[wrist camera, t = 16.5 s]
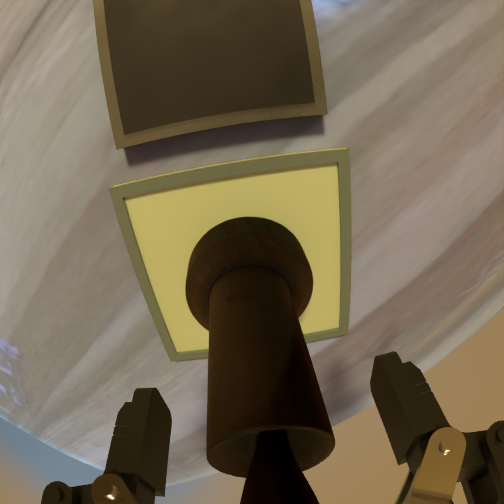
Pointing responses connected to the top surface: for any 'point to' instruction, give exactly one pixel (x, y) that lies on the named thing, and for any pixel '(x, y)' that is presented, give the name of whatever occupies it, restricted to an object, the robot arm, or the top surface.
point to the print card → (234, 206)
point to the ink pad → (206, 64)
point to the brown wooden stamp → (259, 359)
